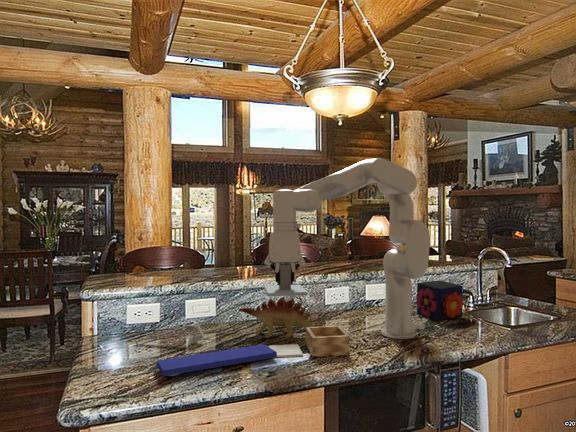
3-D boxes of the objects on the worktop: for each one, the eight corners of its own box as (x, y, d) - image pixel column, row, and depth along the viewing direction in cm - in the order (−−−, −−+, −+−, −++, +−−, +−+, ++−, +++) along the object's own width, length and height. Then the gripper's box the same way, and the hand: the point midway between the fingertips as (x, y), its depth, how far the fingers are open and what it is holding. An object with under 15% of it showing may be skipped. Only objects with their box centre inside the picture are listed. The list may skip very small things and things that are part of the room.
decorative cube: (440, 322, 178) (440, 288, 178) (412, 313, 193) (412, 281, 193) (467, 318, 185) (468, 285, 185) (439, 309, 200) (439, 279, 199)
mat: (297, 345, 150) (297, 344, 150) (302, 356, 140) (302, 354, 140) (268, 347, 148) (268, 345, 148) (271, 357, 138) (271, 355, 138)
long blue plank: (156, 371, 129) (163, 379, 120) (156, 360, 129) (162, 368, 121) (264, 350, 145) (277, 357, 136) (263, 341, 145) (276, 346, 136)
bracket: (203, 338, 151) (190, 313, 151) (147, 367, 150) (134, 342, 150) (204, 335, 155) (191, 311, 154) (150, 364, 154) (136, 339, 153)
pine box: (339, 342, 153) (339, 325, 153) (349, 354, 141) (349, 336, 141) (305, 344, 151) (305, 327, 151) (312, 356, 139) (312, 337, 139)
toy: (322, 349, 155) (327, 307, 154) (235, 333, 161) (240, 293, 161) (325, 342, 163) (330, 302, 163) (242, 327, 170) (247, 288, 169)
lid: (300, 287, 150) (300, 261, 150) (307, 295, 138) (307, 266, 138) (264, 288, 149) (264, 262, 148) (267, 296, 136) (267, 267, 136)
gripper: (307, 226, 148) (307, 281, 148) (258, 227, 145) (258, 282, 146) (311, 228, 140) (311, 285, 141) (260, 228, 138) (260, 286, 138)
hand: (284, 283), depth 143 cm, fingers closed on lid, 3 cm apart
